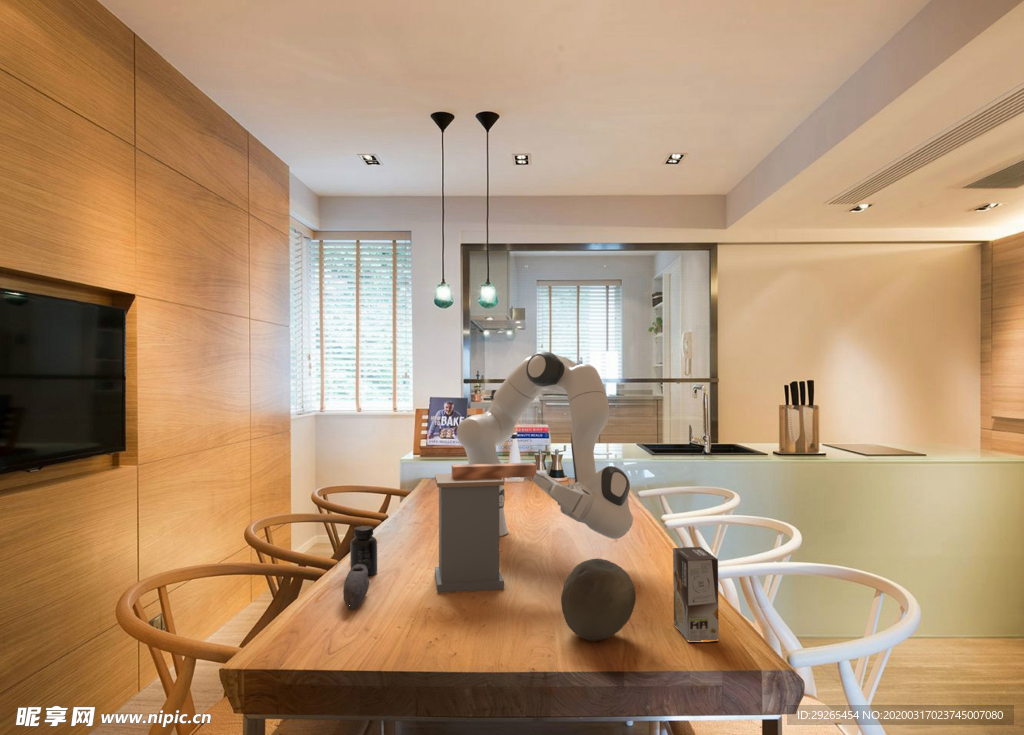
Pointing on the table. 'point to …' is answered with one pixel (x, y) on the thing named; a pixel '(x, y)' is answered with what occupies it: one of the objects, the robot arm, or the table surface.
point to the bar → (493, 470)
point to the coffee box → (695, 593)
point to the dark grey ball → (597, 599)
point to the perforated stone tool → (356, 586)
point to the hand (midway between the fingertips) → (529, 474)
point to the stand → (468, 534)
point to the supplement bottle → (364, 549)
